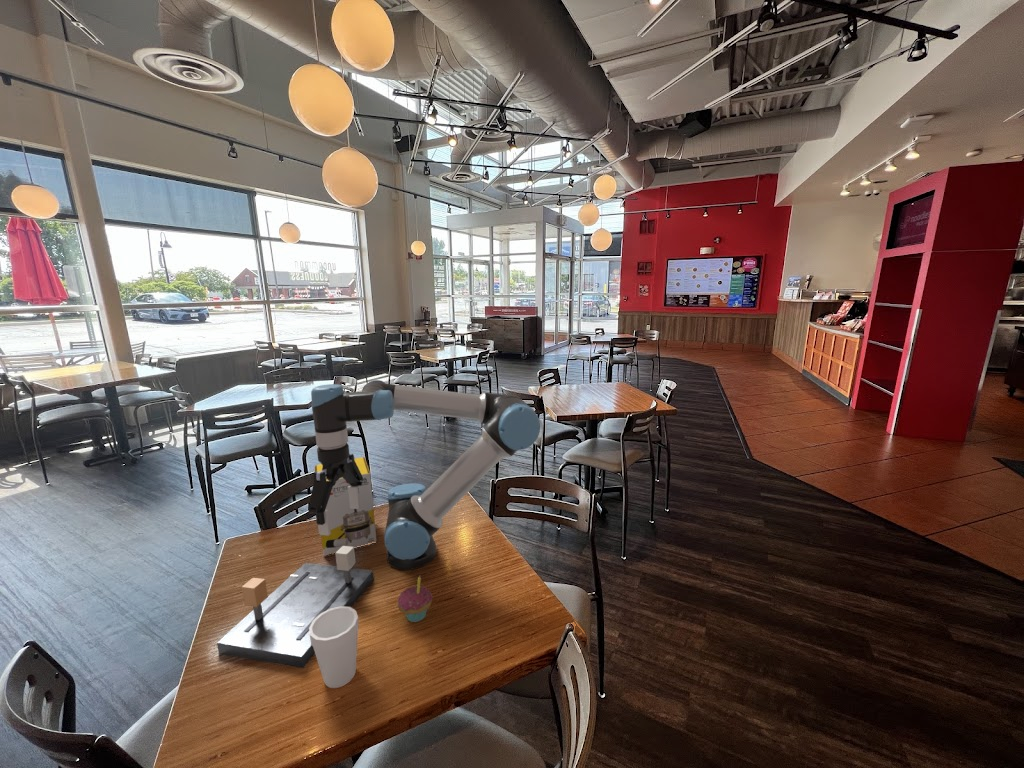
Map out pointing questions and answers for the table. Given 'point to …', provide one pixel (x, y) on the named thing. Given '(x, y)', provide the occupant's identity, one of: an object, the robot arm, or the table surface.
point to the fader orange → (255, 595)
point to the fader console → (293, 615)
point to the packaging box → (349, 513)
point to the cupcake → (415, 602)
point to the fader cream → (345, 561)
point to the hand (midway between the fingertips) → (340, 520)
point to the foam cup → (335, 644)
